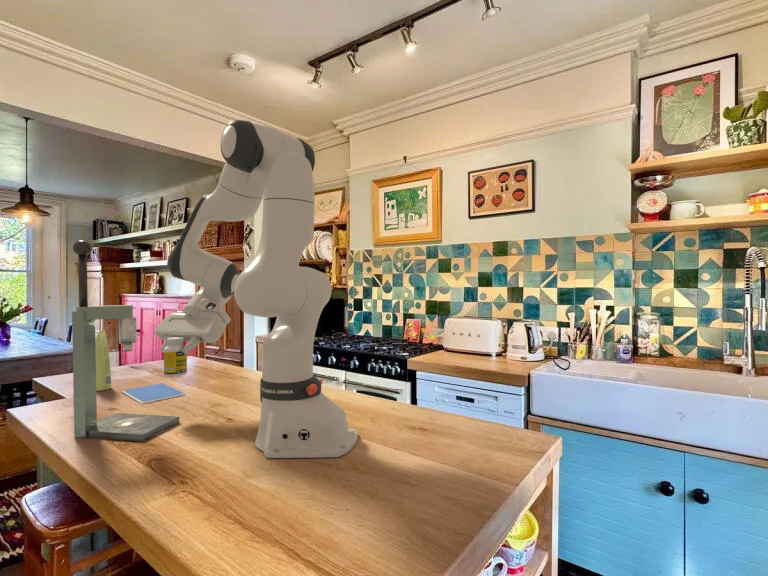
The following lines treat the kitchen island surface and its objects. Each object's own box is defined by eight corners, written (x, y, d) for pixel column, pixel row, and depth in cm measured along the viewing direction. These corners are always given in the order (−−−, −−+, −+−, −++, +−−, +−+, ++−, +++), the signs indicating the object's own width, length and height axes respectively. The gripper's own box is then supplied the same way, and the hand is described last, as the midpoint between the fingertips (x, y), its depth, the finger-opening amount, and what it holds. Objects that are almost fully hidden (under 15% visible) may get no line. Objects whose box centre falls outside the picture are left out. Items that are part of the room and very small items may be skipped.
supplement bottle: (177, 377, 102) (176, 339, 102) (159, 377, 103) (158, 339, 103) (191, 372, 107) (191, 336, 107) (174, 372, 109) (173, 336, 108)
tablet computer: (186, 396, 125) (186, 392, 125) (142, 406, 116) (142, 401, 116) (162, 386, 138) (162, 382, 138) (120, 394, 129) (120, 390, 129)
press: (179, 422, 101) (176, 243, 100) (139, 442, 88) (136, 237, 87) (117, 418, 104) (114, 244, 103) (71, 437, 91) (67, 239, 91)
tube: (89, 389, 132) (88, 331, 131) (105, 386, 136) (104, 329, 136) (98, 392, 129) (97, 332, 129) (115, 388, 134) (114, 330, 133)
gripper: (167, 304, 115) (136, 343, 106) (224, 305, 108) (196, 346, 99) (180, 318, 119) (151, 356, 110) (235, 320, 112) (210, 361, 103)
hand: (173, 352), depth 105 cm, fingers closed on supplement bottle, 5 cm apart
